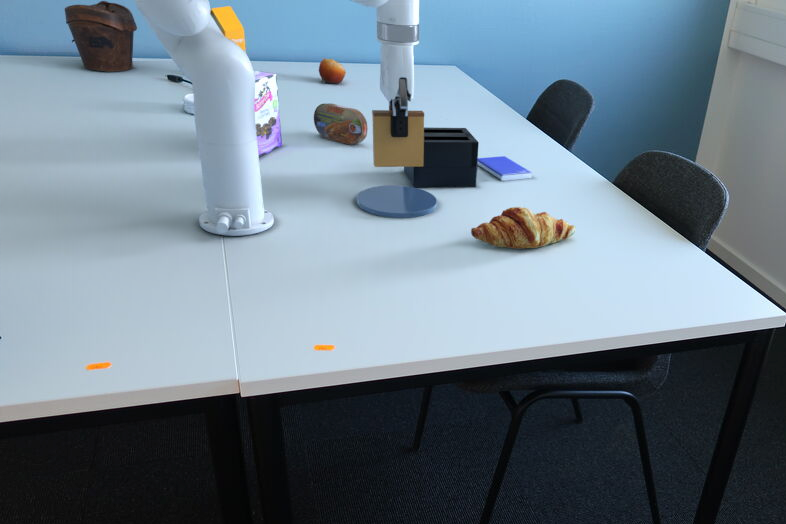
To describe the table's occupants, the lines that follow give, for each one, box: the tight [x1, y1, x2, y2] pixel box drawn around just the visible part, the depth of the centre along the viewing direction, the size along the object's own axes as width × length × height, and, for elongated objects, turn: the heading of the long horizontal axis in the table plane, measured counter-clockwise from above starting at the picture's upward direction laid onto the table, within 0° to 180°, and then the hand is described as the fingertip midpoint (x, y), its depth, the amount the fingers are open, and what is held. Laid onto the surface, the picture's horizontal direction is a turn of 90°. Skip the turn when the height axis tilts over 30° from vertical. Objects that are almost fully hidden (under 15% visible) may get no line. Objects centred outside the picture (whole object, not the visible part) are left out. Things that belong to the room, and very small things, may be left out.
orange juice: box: [210, 5, 247, 54], centre depth 219 cm, size 8×9×20 cm
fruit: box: [318, 58, 347, 85], centre depth 233 cm, size 8×8×8 cm
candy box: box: [254, 70, 283, 158], centre depth 167 cm, size 14×6×16 cm, turn 168°
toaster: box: [403, 126, 479, 189], centre depth 165 cm, size 11×15×10 cm
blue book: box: [477, 155, 533, 182], centre depth 177 cm, size 2×8×12 cm
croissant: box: [470, 206, 577, 250], centre depth 141 cm, size 21×10×8 cm, turn 114°
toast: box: [371, 109, 425, 168], centre depth 146 cm, size 2×10×10 cm, turn 110°
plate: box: [356, 184, 438, 219], centre depth 152 cm, size 16×16×1 cm
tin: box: [313, 102, 368, 146], centre depth 182 cm, size 15×3×8 cm, turn 62°
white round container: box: [182, 92, 194, 115], centre depth 193 cm, size 10×10×4 cm
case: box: [64, 0, 138, 72], centre depth 217 cm, size 18×20×18 cm
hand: (398, 134), depth 145 cm, fingers closed on toast, 2 cm apart
